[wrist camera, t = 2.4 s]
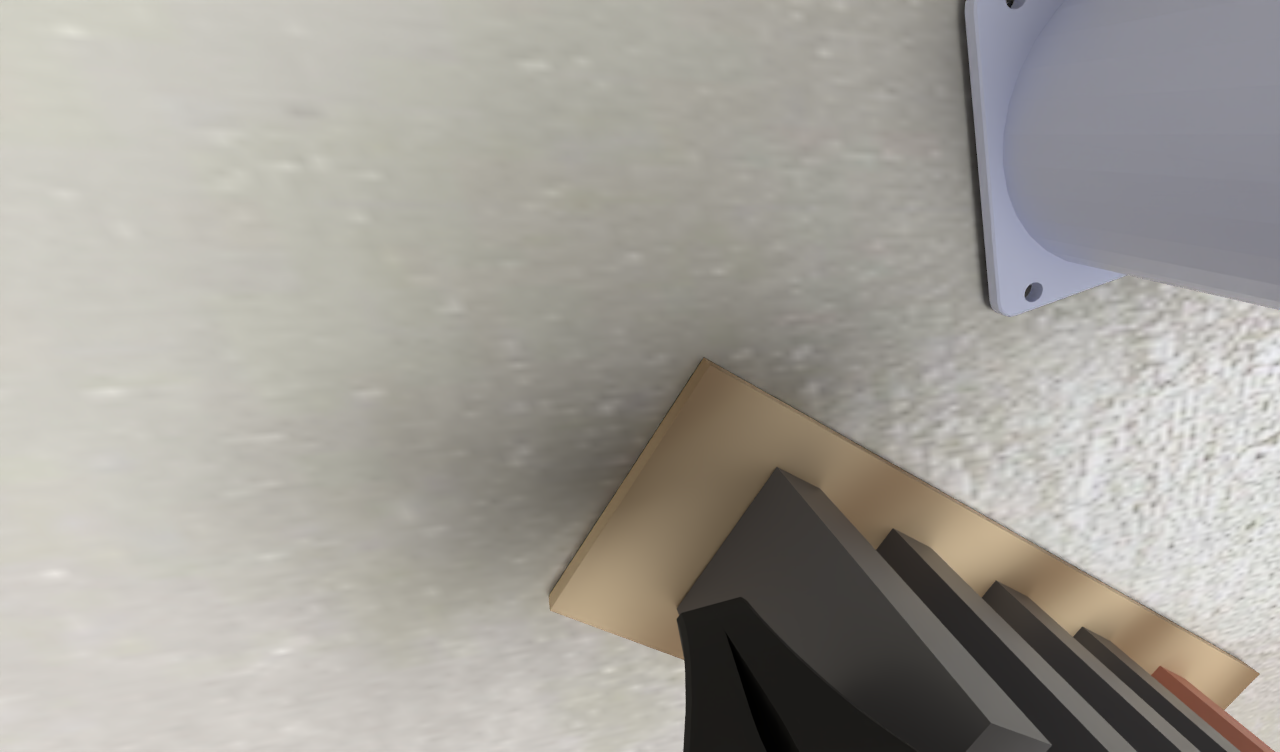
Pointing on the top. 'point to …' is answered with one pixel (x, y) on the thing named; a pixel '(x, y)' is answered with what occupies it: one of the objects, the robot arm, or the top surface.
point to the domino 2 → (1001, 651)
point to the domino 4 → (1155, 694)
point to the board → (868, 497)
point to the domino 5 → (1210, 712)
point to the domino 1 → (859, 623)
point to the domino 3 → (1086, 674)
